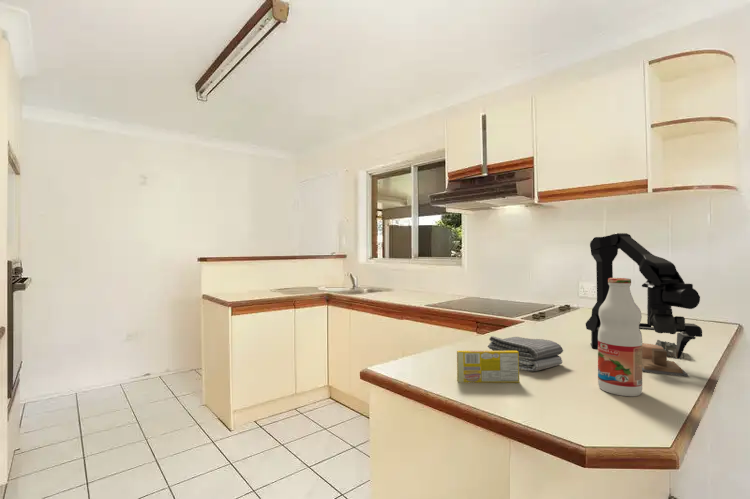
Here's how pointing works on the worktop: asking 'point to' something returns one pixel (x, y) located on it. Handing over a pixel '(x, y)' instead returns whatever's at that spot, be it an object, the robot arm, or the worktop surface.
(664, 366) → the lid
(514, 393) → the worktop surface
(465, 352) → the candy box
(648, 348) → the peach rounded dome
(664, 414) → the worktop surface
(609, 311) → the fruit juice
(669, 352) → the egg carton
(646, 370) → the mat
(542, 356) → the towel
